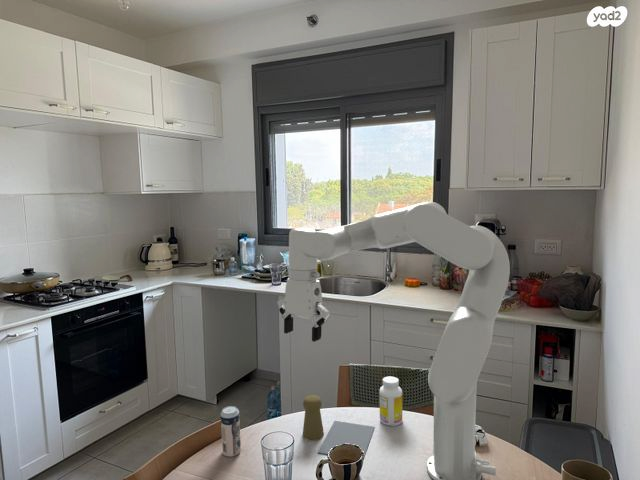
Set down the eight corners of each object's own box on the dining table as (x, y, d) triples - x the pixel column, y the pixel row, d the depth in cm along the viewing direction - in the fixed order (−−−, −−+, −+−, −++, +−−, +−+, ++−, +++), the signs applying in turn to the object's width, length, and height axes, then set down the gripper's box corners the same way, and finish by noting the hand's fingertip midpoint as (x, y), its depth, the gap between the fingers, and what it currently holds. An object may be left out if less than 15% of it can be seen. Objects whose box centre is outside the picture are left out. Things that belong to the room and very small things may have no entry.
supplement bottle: (402, 416, 130) (402, 375, 128) (402, 428, 123) (401, 385, 122) (380, 414, 131) (380, 373, 130) (378, 425, 125) (378, 383, 123)
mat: (374, 427, 124) (374, 426, 124) (362, 461, 109) (362, 460, 109) (334, 421, 128) (334, 420, 127) (317, 453, 112) (317, 452, 112)
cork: (321, 441, 118) (320, 403, 116) (300, 439, 119) (299, 401, 118) (325, 429, 124) (324, 393, 122) (305, 427, 125) (304, 391, 124)
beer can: (239, 457, 111) (237, 413, 110) (221, 458, 111) (219, 414, 110) (242, 446, 116) (240, 404, 115) (224, 447, 116) (222, 405, 114)
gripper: (337, 276, 112) (336, 339, 115) (287, 268, 122) (287, 325, 125) (320, 281, 106) (319, 347, 109) (269, 272, 116) (269, 332, 119)
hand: (302, 336), depth 117 cm, fingers open, 9 cm apart
